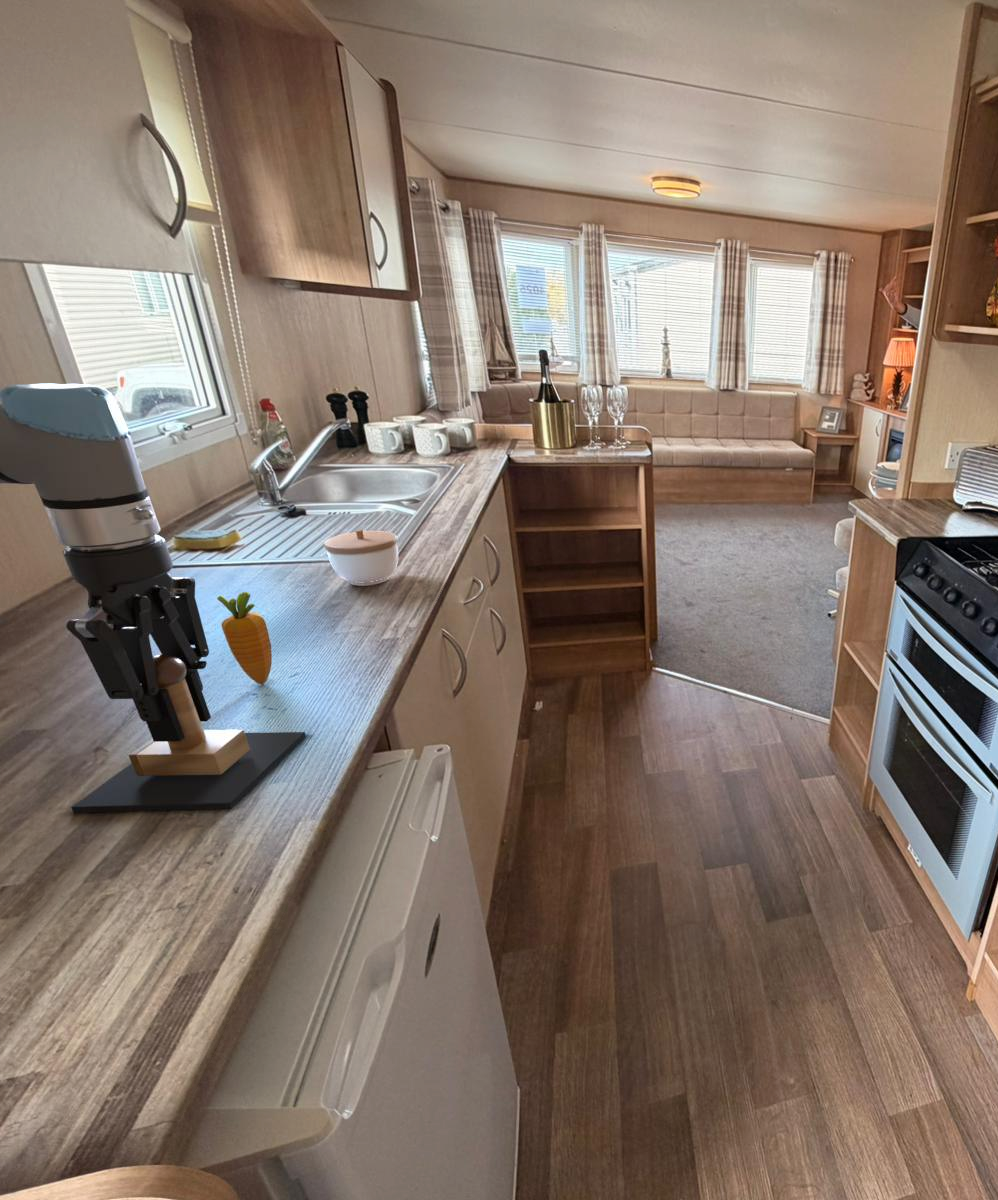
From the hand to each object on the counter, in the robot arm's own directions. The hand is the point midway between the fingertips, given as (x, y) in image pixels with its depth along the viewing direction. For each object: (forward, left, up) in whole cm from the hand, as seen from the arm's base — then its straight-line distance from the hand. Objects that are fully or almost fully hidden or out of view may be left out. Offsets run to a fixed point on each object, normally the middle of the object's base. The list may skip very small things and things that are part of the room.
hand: (183, 729), depth 75 cm
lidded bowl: (-12, +65, -6) cm, 66 cm away
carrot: (-6, +21, -6) cm, 23 cm away
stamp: (0, 0, -5) cm, 5 cm away
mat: (0, 0, -6) cm, 6 cm away
